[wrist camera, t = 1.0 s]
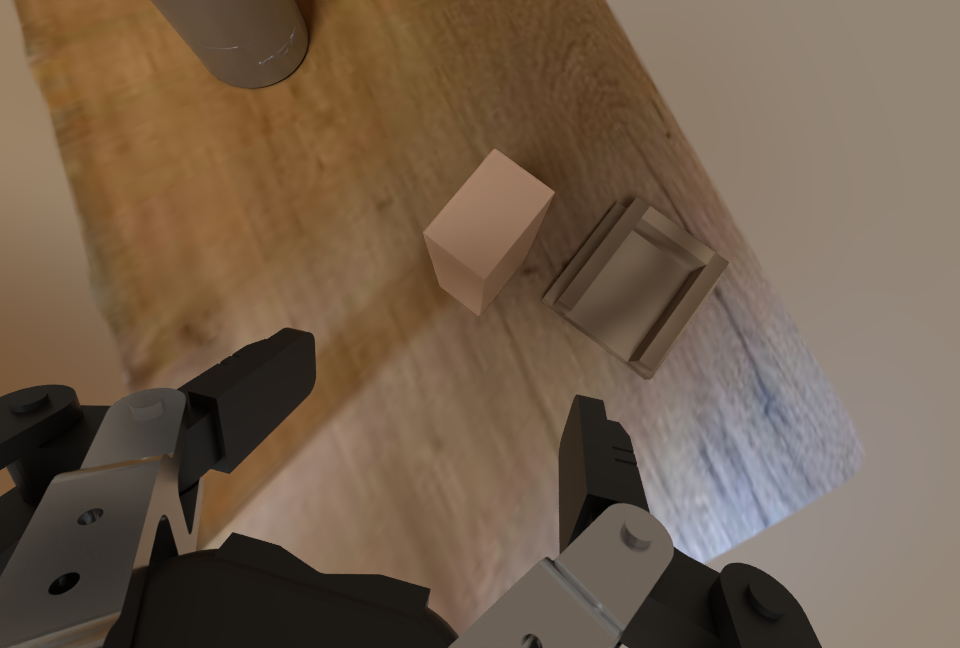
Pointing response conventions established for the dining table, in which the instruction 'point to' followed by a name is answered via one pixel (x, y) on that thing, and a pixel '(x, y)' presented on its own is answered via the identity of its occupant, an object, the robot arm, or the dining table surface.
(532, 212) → the clay block
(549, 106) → the dining table surface
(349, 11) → the dining table surface
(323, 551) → the dining table surface
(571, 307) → the tray
